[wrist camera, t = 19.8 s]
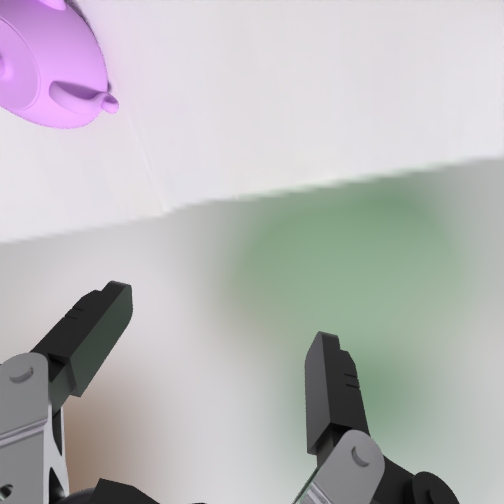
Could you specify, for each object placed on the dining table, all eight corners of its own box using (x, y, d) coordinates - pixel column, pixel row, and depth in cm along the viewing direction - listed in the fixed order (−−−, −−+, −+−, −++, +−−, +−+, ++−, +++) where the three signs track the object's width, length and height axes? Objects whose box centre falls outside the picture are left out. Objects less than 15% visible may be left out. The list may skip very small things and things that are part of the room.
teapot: (155, 13, 39) (96, -11, 27) (116, 151, 50) (63, 176, 39) (-8, -99, 35) (-157, -182, 23) (-10, 79, 46) (-110, 82, 35)
